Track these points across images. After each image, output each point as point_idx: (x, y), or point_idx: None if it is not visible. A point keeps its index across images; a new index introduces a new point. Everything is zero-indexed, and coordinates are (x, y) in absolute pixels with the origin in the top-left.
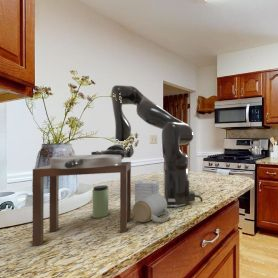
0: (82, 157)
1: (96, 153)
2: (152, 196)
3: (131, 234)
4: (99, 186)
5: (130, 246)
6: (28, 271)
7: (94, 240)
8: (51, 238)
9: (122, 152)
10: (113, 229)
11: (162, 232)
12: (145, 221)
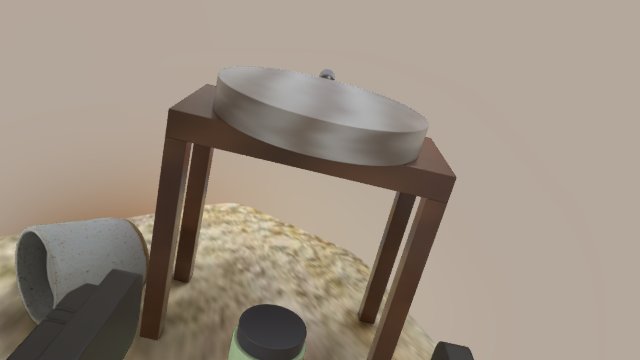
0: (333, 90)
1: (451, 344)
2: (78, 223)
3: None
4: (280, 330)
5: None
6: (329, 245)
7: (249, 273)
8: (351, 331)
9: (111, 273)
10: (205, 298)
11: None
12: None
